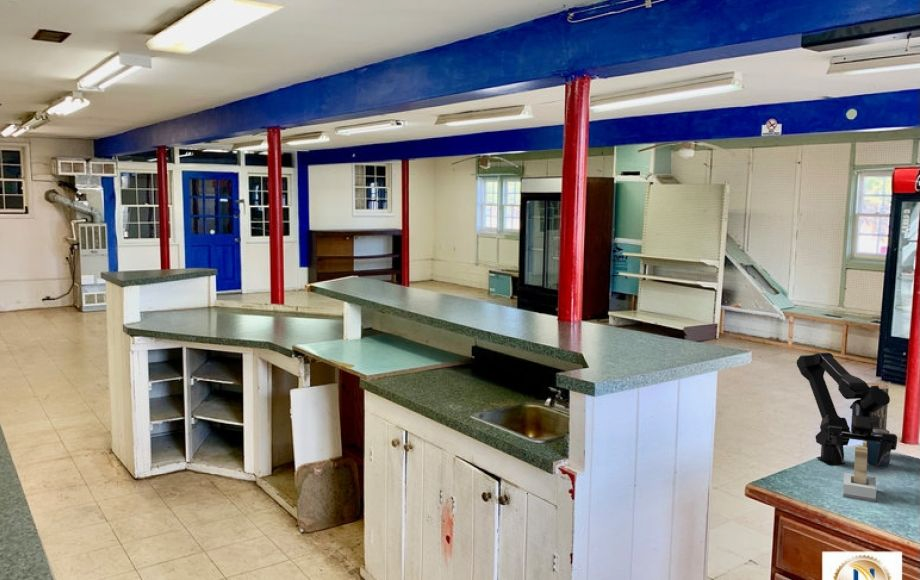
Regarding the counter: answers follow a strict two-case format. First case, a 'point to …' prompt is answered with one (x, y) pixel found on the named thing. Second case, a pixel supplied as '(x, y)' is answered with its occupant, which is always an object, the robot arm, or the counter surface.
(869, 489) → the end cap
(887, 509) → the counter surface
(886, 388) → the bark log
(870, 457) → the soda can
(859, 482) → the slat
